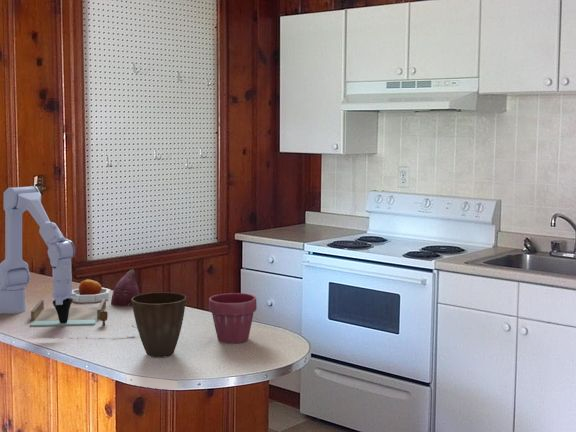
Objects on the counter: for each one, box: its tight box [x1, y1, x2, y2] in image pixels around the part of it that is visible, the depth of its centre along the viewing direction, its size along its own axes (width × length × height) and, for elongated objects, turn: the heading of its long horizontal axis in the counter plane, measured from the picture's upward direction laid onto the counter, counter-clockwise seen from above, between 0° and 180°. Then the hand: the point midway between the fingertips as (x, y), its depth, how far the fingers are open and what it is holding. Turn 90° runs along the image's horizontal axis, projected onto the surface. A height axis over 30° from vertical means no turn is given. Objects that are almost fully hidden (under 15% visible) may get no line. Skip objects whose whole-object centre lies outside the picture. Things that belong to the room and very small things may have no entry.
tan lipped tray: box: [30, 299, 107, 322], centre depth 259 cm, size 22×16×4 cm
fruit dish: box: [69, 287, 111, 304], centre depth 287 cm, size 14×14×2 cm
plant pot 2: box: [208, 292, 258, 344], centre depth 233 cm, size 14×14×13 cm
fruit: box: [78, 278, 103, 295], centre depth 287 cm, size 8×8×8 cm
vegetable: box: [110, 268, 141, 307], centre depth 275 cm, size 10×10×15 cm
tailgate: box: [29, 319, 98, 328], centre depth 248 cm, size 20×1×7 cm
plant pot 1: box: [132, 291, 187, 358], centre depth 219 cm, size 15×15×16 cm
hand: (63, 322), depth 246 cm, fingers closed
